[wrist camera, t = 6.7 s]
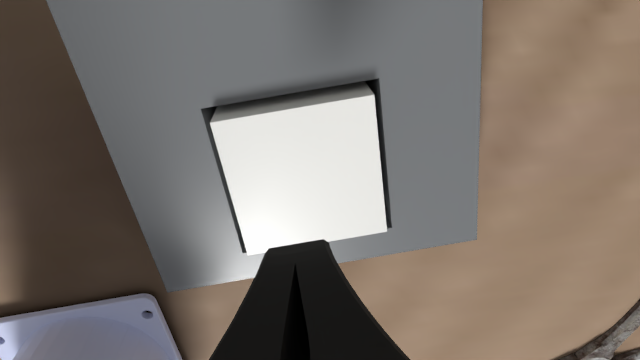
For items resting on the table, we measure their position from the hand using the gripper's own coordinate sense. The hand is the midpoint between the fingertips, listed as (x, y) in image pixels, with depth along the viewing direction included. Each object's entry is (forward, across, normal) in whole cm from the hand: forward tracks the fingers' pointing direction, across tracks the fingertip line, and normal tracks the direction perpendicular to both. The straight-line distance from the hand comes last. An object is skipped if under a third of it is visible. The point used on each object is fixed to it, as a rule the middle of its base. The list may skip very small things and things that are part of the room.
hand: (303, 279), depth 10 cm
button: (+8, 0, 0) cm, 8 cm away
